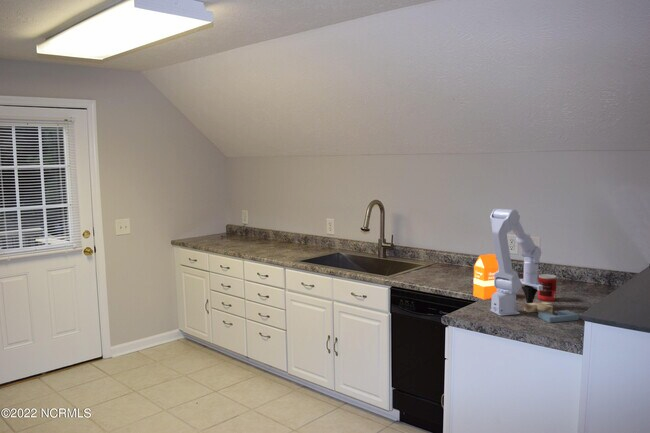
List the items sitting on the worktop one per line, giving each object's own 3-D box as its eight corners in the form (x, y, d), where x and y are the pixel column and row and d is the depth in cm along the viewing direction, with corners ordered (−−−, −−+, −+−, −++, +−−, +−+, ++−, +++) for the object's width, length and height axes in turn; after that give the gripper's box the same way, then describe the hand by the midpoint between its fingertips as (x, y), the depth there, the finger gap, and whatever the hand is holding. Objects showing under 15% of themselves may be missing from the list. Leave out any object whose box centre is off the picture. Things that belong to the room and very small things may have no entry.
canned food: (550, 297, 250) (551, 273, 248) (559, 301, 242) (559, 277, 240) (534, 297, 249) (535, 274, 248) (542, 301, 241) (543, 277, 240)
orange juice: (473, 295, 253) (474, 254, 251) (488, 293, 256) (489, 252, 254) (483, 299, 246) (484, 256, 244) (499, 297, 249) (500, 255, 247)
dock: (549, 322, 210) (549, 317, 210) (538, 317, 217) (538, 312, 217) (578, 319, 214) (578, 314, 214) (566, 314, 221) (566, 310, 220)
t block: (535, 315, 220) (535, 308, 220) (523, 310, 228) (524, 303, 227) (560, 313, 223) (560, 306, 223) (548, 308, 231) (548, 301, 230)
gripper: (549, 275, 226) (548, 306, 228) (528, 268, 240) (527, 298, 241) (534, 276, 224) (533, 307, 226) (514, 269, 238) (513, 299, 240)
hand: (529, 302), depth 234 cm, fingers closed
